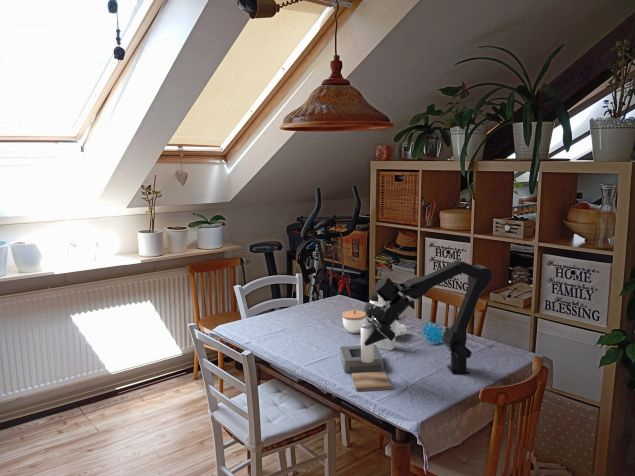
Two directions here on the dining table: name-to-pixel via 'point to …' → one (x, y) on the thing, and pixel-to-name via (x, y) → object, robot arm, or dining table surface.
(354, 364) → the collar
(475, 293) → the robot arm
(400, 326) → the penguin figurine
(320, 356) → the dining table surface
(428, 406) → the dining table surface
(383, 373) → the pad
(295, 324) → the dining table surface
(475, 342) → the dining table surface
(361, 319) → the lidded jar
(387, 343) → the skincare box
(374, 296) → the medicine bottle
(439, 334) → the blue fuzzy rounded lump
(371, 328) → the dome-capped cylinder
